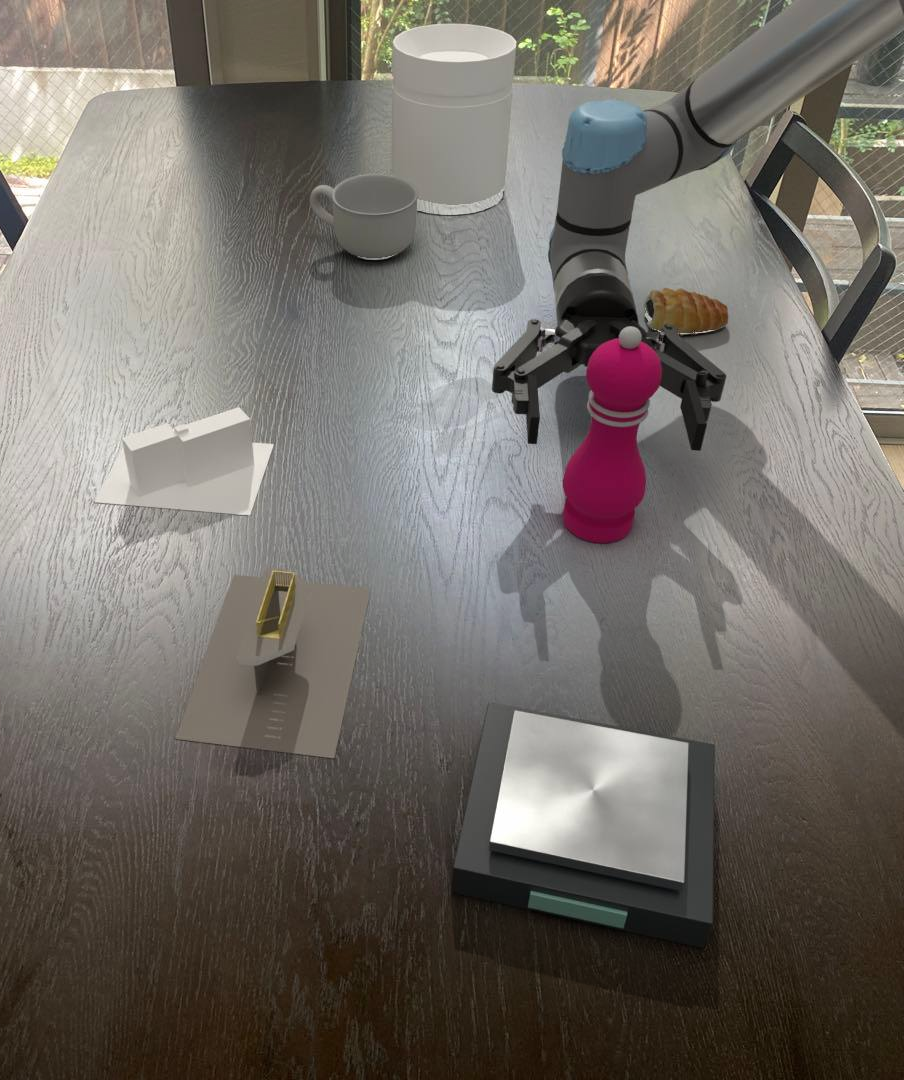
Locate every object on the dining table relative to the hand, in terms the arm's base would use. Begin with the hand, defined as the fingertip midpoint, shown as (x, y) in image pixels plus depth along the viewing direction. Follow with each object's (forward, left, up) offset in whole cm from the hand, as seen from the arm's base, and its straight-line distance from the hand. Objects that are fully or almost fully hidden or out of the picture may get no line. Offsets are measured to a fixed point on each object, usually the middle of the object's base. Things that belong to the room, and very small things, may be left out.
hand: (616, 434), depth 90 cm
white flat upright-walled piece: (+39, 0, -11) cm, 41 cm away
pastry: (-6, -40, -11) cm, 42 cm away
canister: (+27, -69, -11) cm, 75 cm away
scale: (-2, +31, -11) cm, 33 cm away
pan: (-2, +31, -8) cm, 32 cm away
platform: (+23, +21, -11) cm, 33 cm away
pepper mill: (0, -2, -11) cm, 11 cm away
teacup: (+34, -50, -11) cm, 61 cm away
